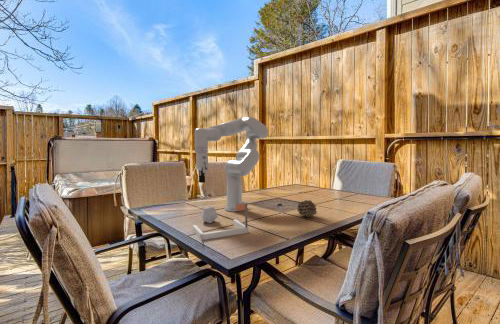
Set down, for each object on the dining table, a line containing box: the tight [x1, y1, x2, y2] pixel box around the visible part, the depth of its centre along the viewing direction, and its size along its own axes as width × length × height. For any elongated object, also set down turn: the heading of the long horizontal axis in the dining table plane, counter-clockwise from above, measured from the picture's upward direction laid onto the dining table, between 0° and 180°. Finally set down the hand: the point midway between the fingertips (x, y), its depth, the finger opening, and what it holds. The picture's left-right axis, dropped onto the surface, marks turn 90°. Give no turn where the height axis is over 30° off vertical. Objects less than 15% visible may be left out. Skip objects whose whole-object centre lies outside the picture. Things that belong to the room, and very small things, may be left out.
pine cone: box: [293, 199, 318, 218], centre depth 163 cm, size 22×10×10 cm, turn 26°
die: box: [200, 205, 219, 224], centre depth 151 cm, size 8×9×10 cm
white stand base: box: [192, 202, 249, 241], centre depth 135 cm, size 23×16×14 cm
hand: (201, 182), depth 160 cm, fingers closed
